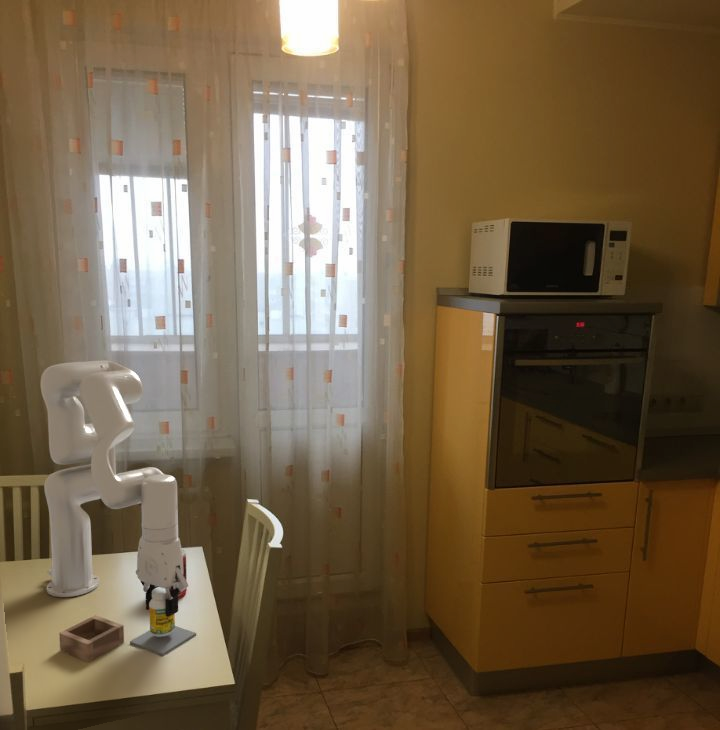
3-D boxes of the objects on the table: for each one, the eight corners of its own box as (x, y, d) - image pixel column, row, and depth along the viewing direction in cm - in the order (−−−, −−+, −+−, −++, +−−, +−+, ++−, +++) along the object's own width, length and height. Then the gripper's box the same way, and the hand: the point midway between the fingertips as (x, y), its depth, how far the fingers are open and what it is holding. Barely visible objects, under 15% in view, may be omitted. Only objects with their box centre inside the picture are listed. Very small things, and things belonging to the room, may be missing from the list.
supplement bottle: (170, 623, 150) (169, 582, 149) (178, 633, 146) (177, 591, 145) (146, 629, 147) (145, 588, 146) (153, 640, 143) (152, 597, 142)
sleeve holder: (60, 650, 142) (59, 633, 141) (96, 631, 150) (95, 615, 149) (88, 662, 137) (87, 644, 137) (124, 642, 145) (123, 625, 145)
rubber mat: (129, 643, 145) (129, 641, 145) (164, 624, 154) (164, 621, 154) (162, 655, 140) (162, 653, 140) (196, 635, 149) (196, 633, 149)
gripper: (119, 529, 145) (121, 608, 147) (176, 545, 137) (177, 628, 139) (145, 519, 152) (147, 595, 154) (201, 533, 143) (202, 613, 145)
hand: (162, 609), depth 146 cm, fingers closed on supplement bottle, 5 cm apart
